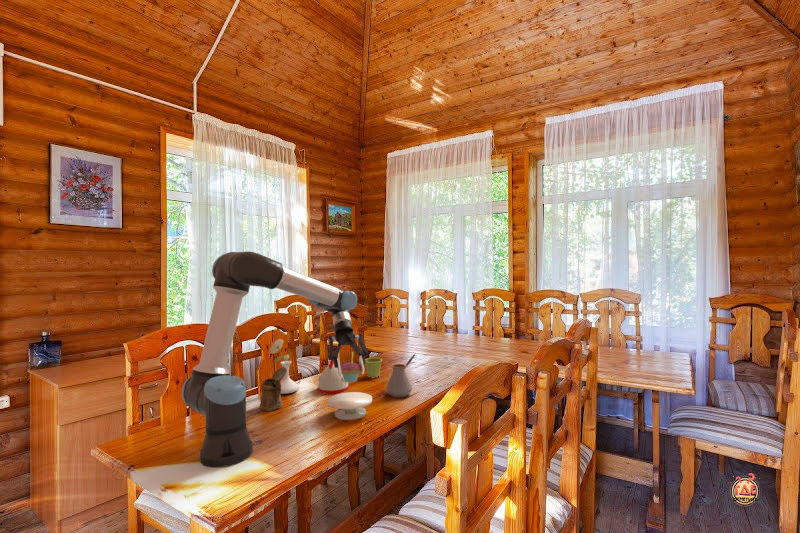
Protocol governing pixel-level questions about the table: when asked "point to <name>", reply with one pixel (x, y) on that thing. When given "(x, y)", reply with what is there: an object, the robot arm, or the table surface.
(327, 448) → the table surface
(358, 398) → the cake stand
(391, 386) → the coffee pot
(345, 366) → the cupcake
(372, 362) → the plant pot
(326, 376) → the kitchen timer
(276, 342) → the flower in vase
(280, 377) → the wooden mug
